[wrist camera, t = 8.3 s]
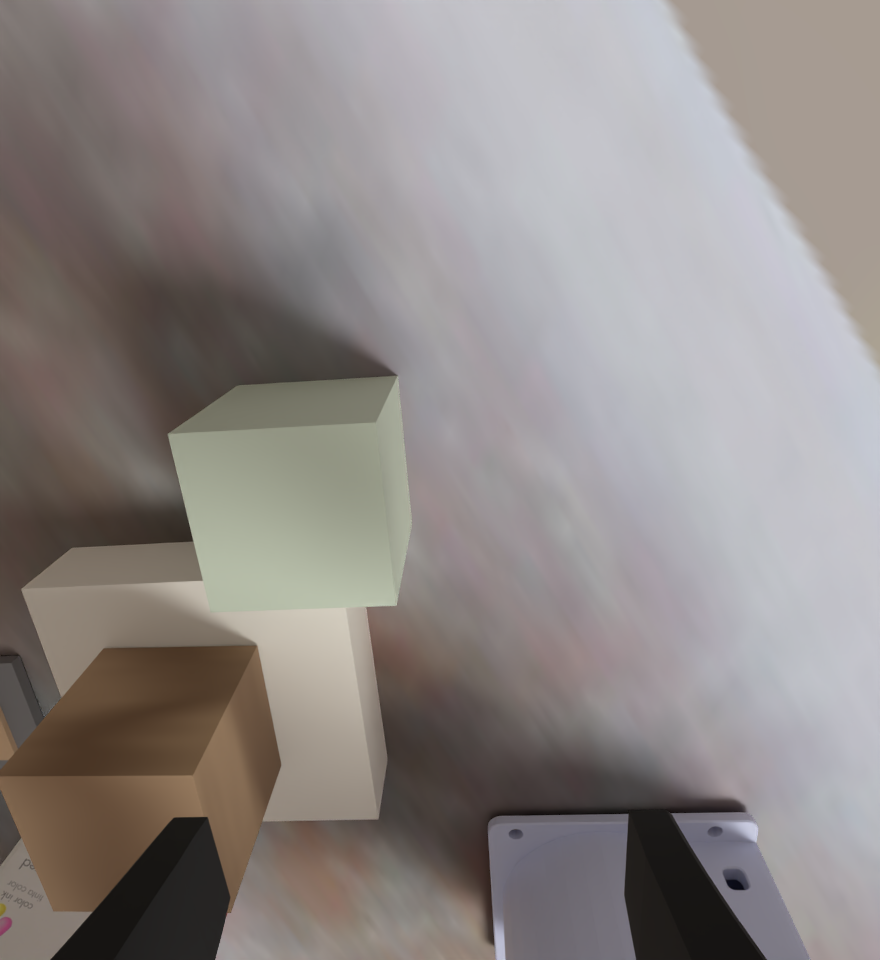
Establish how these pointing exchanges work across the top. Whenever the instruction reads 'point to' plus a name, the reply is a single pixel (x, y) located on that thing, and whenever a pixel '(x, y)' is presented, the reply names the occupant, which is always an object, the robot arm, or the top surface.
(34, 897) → the ink cartridge box
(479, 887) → the top surface
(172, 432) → the sage block
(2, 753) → the tile
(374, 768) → the base block
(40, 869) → the walnut block
